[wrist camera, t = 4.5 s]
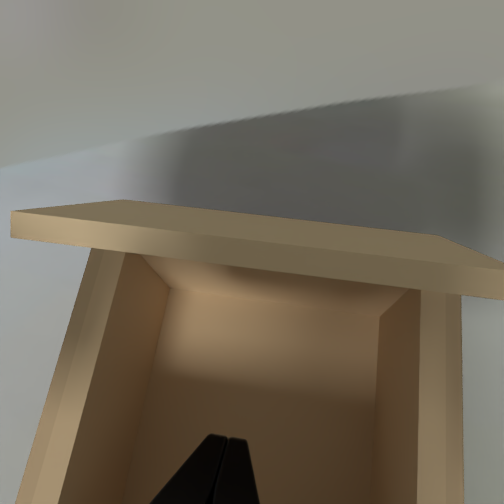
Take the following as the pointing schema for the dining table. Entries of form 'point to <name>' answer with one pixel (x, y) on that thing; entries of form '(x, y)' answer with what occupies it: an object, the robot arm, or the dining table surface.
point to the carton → (251, 385)
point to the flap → (268, 244)
